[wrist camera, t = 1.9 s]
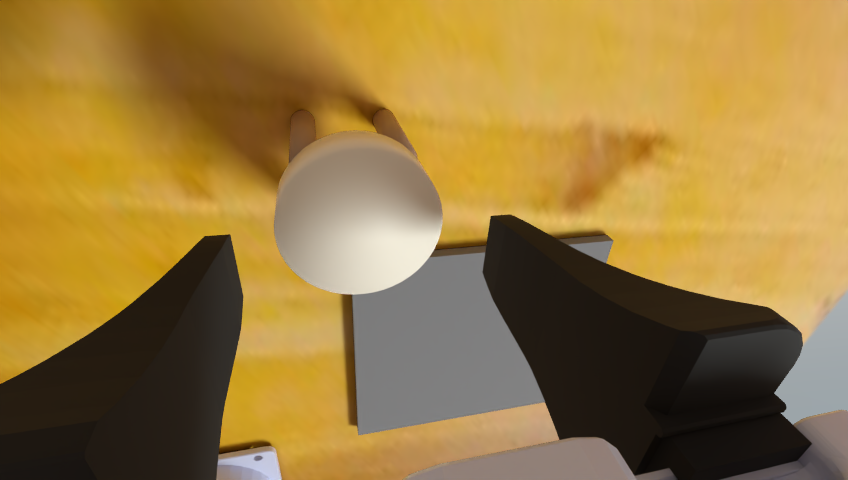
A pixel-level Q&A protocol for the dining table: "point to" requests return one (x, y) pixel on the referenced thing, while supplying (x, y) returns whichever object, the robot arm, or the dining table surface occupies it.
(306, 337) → the dining table surface
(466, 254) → the mat
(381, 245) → the stool
